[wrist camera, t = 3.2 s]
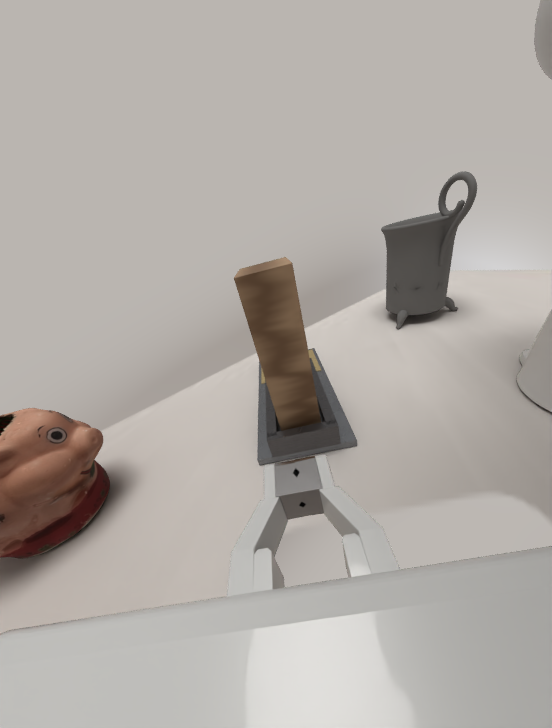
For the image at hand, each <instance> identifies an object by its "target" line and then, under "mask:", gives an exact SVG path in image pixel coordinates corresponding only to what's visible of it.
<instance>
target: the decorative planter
mask: <svg viewBox="0 0 552 728" xmlns="http://www.w3.org/2000/svg"><path fill="white" fill-rule="evenodd" d="M102 444H103V435H102V433H101V432H100V431H99V430H98V429H95V428H91V427H90V426H89V425H88V424H86V423H83V422H80V421H76V420H73V419H71V418H69V417H67V416H65V415H63V414H61V413H59V412H55V411H48V410H41V409H36V408H28V409H23V410H19V411H16V412H12V413H9V414H5V415H1V416H0V558H1V557H15V558H28V557H32V556H35V555H38V554H41V553H44V552H46V551H48V550H50V549H52V548H54V547H55V546H57V545H59V544H60V543H62V542H64V541H65V540H67V539H69V538H70V537H72V536H73V535H75V534H76V533H77V532H79V531H80V530H81V529H82V528H83V527H84V526H85V525H86V524H87V523H88V522H89V521H90V520H91V519H92V518H93V517H94V516H95V515H96V513H97V511H98V510H99V509H100V508H101V506H102V504H103V502H104V500H105V498H106V496H107V494H108V491H109V486H110V481H109V477H108V475H107V473H106V471H105V470H104V469H103V468H102V467H101V465H99V464H98V463H97V462H96V461H95V460H94V459H95V457H96V456H97V454H98V452H99V451H100V449H101V447H102Z"/></svg>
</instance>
